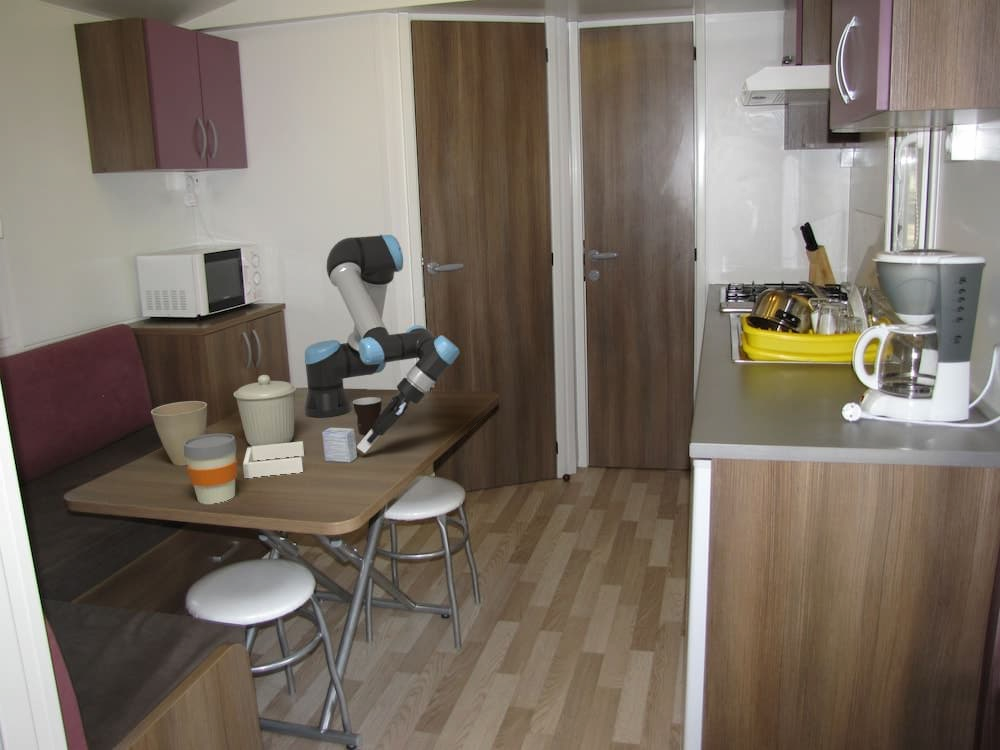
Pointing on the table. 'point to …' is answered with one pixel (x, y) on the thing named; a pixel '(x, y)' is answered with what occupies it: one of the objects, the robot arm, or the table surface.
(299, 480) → the table surface
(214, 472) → the reusable coffee cup
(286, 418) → the canister
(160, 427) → the plant pot
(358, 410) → the coffee mug
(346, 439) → the medicine box
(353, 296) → the robot arm
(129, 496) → the table surface
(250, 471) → the shallow white tray
